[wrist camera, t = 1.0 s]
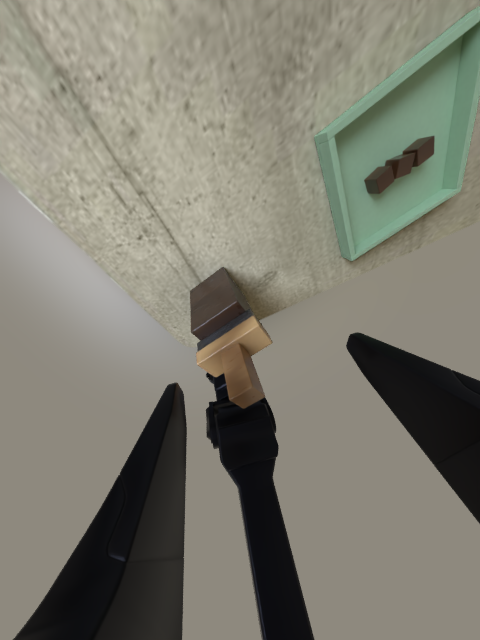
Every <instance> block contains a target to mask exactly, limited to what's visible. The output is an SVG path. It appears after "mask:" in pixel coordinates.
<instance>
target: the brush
mask: <svg viewBox="0 0 480 640" xmlns="http://www.w3.org/2000/svg"><path fill="white" fill-rule="evenodd" d="M270 344H272V340H271V338H270V337H269V335H268V333H267V332H266V330H265V329H264V328H263V326H262V324H261V323H260V322H259V320H258V319H257V318H256V316H255V315H254V314H253V312H252V311H251V310H250V309H248V310H246V311H245V312H243V313H242V314H240V315H239V316H237V317H236V318H234V319H233V320H231V321H230V322H228V323H227V324H225V325H224V326H222V327H221V328H219V329H218V330H216V331H215V332H213V333H212V334H210V335H209V336H207V337H206V338H204V339H203V340H201V341H200V342H198V343H197V346H198V352H197V353H196V356H197V365H198V366H200V367H201V368H203V369H204V370H205V371H207V372H208V373H210V374H211V375H213V376H214V377H218V376H220V375H221V374H223V373H224V374H225V380H226V385H227V390H228V395H229V400H230V401H232V402H233V403H235V404H237V405H238V406H240V407H241V408H243V409H244V408H246V407H248V406H250V405H252V404H253V403H255V402H257V401H259V400H261V399H262V398H264V397H265V395H264V392H263V389H262V386H261V384H260V381H259V378H258V375H257V373H256V370H255V367H254V364H253V361H252V359H251V356H252V355H254V354H255V353H257V352H258V351H260V350H262V349H264V348H265V347H267V346H268V345H270Z"/></svg>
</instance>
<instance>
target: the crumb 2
mask: <svg viewBox="0 0 480 640" xmlns="http://www.w3.org/2000/svg"><path fill="white" fill-rule="evenodd" d="M414 157H415V153H409V154H401V155H398V156H396V157H393V158H391V159H388V160H386V162H385V166H392V170H393V175H394V179H398V178H400V177H403V176H405V175H408V174H410V173H411V170H412V166H413V161H414Z"/></svg>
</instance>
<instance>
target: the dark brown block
mask: <svg viewBox="0 0 480 640" xmlns="http://www.w3.org/2000/svg"><path fill="white" fill-rule="evenodd" d="M190 304H191V333H192V334H193V335H195V336H196V337H197V338H198V339H199V340H203V339H204V338H206V337H207V336H209V335H210V334H212V333H213V332H215V331H216V330H218V329H219V328H221V327H222V326H224V325H225V324H227V323H228V322H230V321H231V320H233V319H234V318H236V317H237V316H239V315H240V314H242V313H243V312H245V311H246V310H248V309H250V310H251V311H252V309H251V307H250V305H249V303H248V301H247V299H246V297H245V295H244V294H243V293H242V291H241V290H240V289H239V287H238V286H237V285H236V283H235V282H234V281H233V279H232V278H231V277H230V275H229V274H228V273H227V271H226V270H225V269H224V267H222V268H221V269H219V270H218V271H217V272H215V273H214V274H213V275H211V276H210V277H208V278H207V279H206V280H204V281H203V282H202V283H200V284H199V285H198V286H196V287H195V288H194V289H192V290H191V291H190ZM252 312H253V311H252ZM253 314H254V313H253Z"/></svg>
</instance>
